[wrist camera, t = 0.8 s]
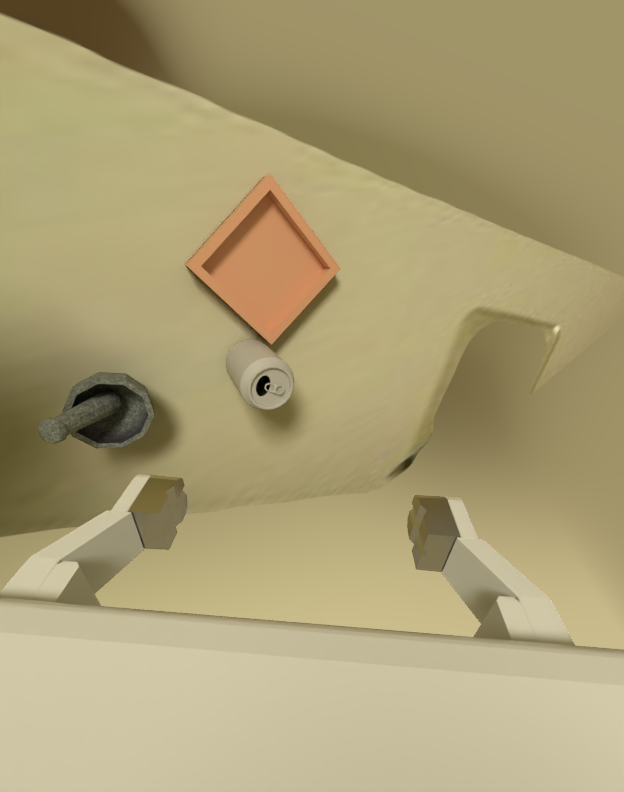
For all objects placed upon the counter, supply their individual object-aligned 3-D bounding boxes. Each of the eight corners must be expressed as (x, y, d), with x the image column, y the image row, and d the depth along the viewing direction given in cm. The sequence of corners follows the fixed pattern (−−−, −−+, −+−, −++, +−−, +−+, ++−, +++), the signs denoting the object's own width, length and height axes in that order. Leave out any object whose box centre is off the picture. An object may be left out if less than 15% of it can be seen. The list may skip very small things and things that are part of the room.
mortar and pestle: (155, 364, 48) (157, 397, 38) (152, 423, 51) (153, 468, 41) (57, 357, 43) (30, 393, 33) (60, 423, 46) (37, 474, 36)
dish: (184, 264, 44) (187, 265, 42) (263, 177, 44) (270, 173, 42) (265, 339, 53) (271, 344, 51) (331, 267, 53) (340, 268, 50)
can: (230, 333, 51) (251, 356, 41) (276, 343, 54) (305, 366, 44) (220, 379, 53) (237, 412, 43) (264, 386, 56) (290, 417, 46)
